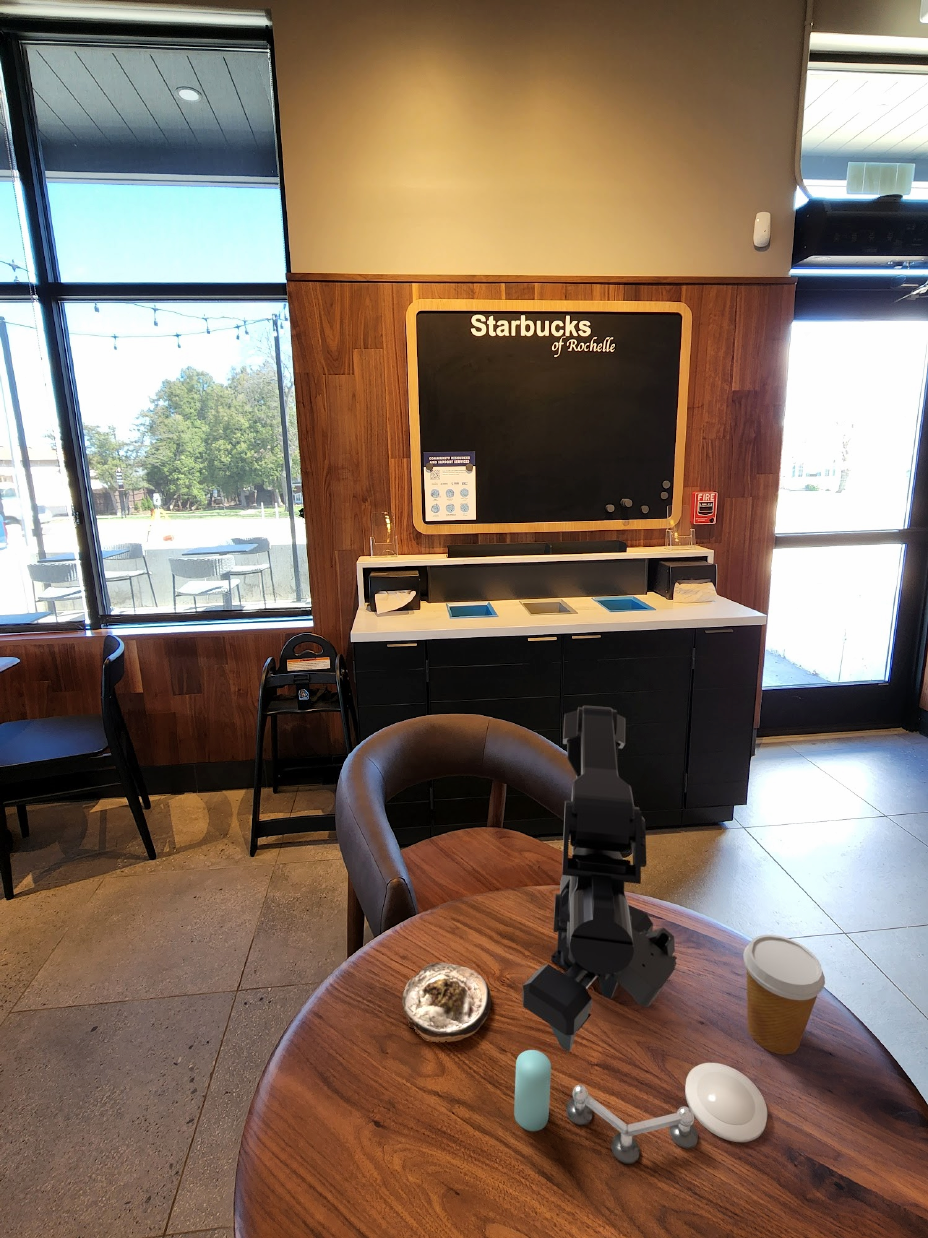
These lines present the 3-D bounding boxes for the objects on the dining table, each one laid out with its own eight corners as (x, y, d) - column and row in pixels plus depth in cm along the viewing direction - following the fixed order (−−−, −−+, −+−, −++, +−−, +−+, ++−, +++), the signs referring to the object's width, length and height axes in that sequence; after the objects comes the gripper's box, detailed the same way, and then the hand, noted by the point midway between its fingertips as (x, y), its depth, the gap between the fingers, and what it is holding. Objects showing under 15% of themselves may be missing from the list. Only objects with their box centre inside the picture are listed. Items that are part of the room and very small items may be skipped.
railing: (561, 1113, 74) (562, 1089, 73) (601, 1061, 80) (603, 1039, 79) (665, 1199, 65) (668, 1173, 64) (701, 1134, 71) (704, 1110, 70)
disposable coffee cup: (823, 1073, 79) (838, 994, 76) (742, 1058, 81) (754, 980, 78) (800, 1011, 88) (812, 938, 85) (728, 999, 90) (737, 927, 87)
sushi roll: (517, 994, 91) (518, 970, 90) (463, 1077, 78) (463, 1050, 77) (433, 953, 98) (433, 930, 97) (371, 1022, 86) (370, 997, 85)
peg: (507, 1114, 73) (508, 1066, 72) (528, 1090, 76) (530, 1043, 74) (534, 1139, 71) (537, 1089, 69) (555, 1113, 73) (558, 1065, 72)
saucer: (672, 1104, 75) (672, 1098, 74) (703, 1054, 81) (704, 1049, 81) (750, 1160, 69) (751, 1154, 68) (777, 1101, 75) (778, 1095, 75)
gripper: (623, 995, 55) (612, 1134, 59) (702, 892, 69) (689, 1009, 73) (521, 935, 62) (516, 1062, 66) (611, 852, 76) (603, 961, 80)
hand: (587, 1021), depth 71 cm, fingers open, 9 cm apart
